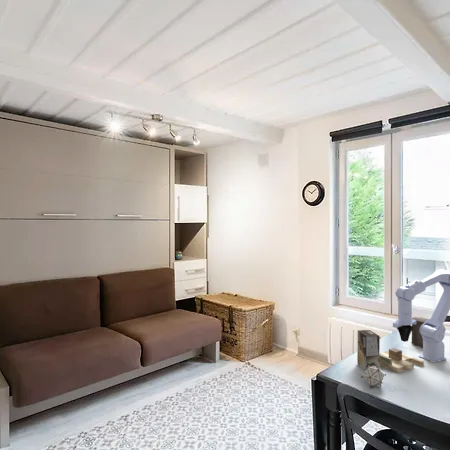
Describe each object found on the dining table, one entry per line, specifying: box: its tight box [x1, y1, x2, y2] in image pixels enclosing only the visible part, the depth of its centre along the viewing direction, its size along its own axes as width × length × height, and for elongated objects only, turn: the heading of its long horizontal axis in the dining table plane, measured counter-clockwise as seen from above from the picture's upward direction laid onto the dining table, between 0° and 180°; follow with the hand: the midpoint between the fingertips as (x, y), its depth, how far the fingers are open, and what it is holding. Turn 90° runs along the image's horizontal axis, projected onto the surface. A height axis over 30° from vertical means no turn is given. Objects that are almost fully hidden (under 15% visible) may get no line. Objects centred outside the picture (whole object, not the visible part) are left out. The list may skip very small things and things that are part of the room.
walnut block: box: [388, 347, 403, 361], centre depth 164 cm, size 4×4×4 cm
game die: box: [360, 364, 387, 389], centre depth 140 cm, size 9×8×10 cm
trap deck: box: [379, 350, 425, 373], centre depth 164 cm, size 18×16×4 cm
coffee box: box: [356, 329, 381, 372], centre depth 158 cm, size 9×6×16 cm
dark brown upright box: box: [411, 316, 429, 348], centre depth 190 cm, size 10×10×15 cm
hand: (404, 340), depth 167 cm, fingers closed
